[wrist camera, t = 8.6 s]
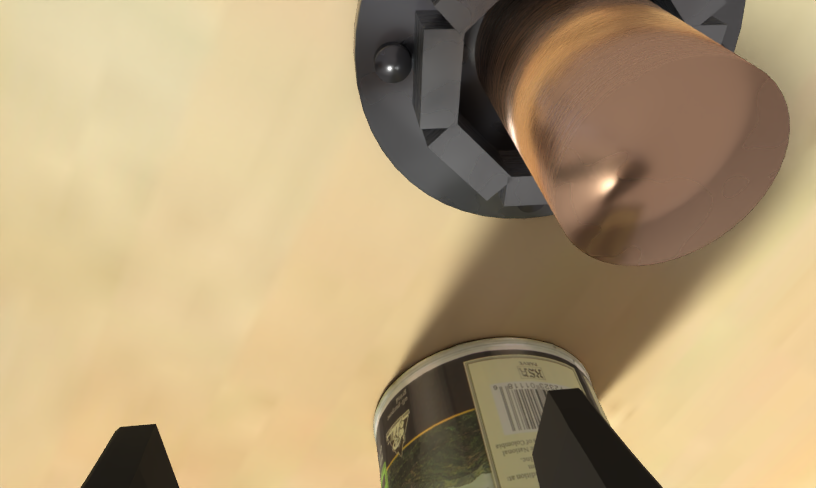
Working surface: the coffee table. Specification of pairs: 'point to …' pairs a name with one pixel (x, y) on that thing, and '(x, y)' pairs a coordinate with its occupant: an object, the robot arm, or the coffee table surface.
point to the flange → (463, 98)
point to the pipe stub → (631, 123)
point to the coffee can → (472, 414)
